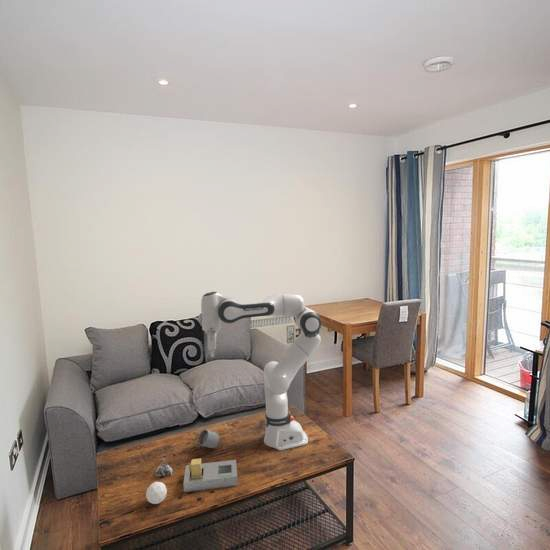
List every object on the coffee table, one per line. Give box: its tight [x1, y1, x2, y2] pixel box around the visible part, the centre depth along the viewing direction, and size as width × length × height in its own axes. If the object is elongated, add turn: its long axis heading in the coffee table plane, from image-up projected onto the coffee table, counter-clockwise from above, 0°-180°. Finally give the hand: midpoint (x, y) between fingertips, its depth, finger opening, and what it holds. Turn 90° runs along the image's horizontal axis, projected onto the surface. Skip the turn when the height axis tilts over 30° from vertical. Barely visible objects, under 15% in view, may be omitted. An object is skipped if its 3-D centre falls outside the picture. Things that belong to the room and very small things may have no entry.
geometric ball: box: [145, 481, 168, 505], centre depth 149 cm, size 8×8×8 cm
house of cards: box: [154, 457, 174, 478], centre depth 164 cm, size 9×9×8 cm
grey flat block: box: [183, 459, 239, 493], centre depth 162 cm, size 22×12×4 cm, turn 99°
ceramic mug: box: [197, 428, 220, 449], centre depth 187 cm, size 11×8×8 cm
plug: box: [188, 458, 202, 477], centre depth 160 cm, size 5×4×9 cm
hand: (212, 353), depth 183 cm, fingers open, 8 cm apart
